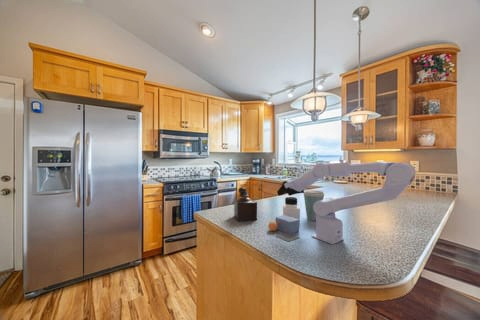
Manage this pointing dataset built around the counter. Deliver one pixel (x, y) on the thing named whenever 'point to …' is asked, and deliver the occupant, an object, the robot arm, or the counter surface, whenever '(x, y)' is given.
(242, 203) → the dark brown boxy bottle
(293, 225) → the blue-gray rectangular block
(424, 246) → the counter surface
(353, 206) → the robot arm
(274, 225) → the ball
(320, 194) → the disposable coffee cup
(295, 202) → the medicine bottle
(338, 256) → the counter surface
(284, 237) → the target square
